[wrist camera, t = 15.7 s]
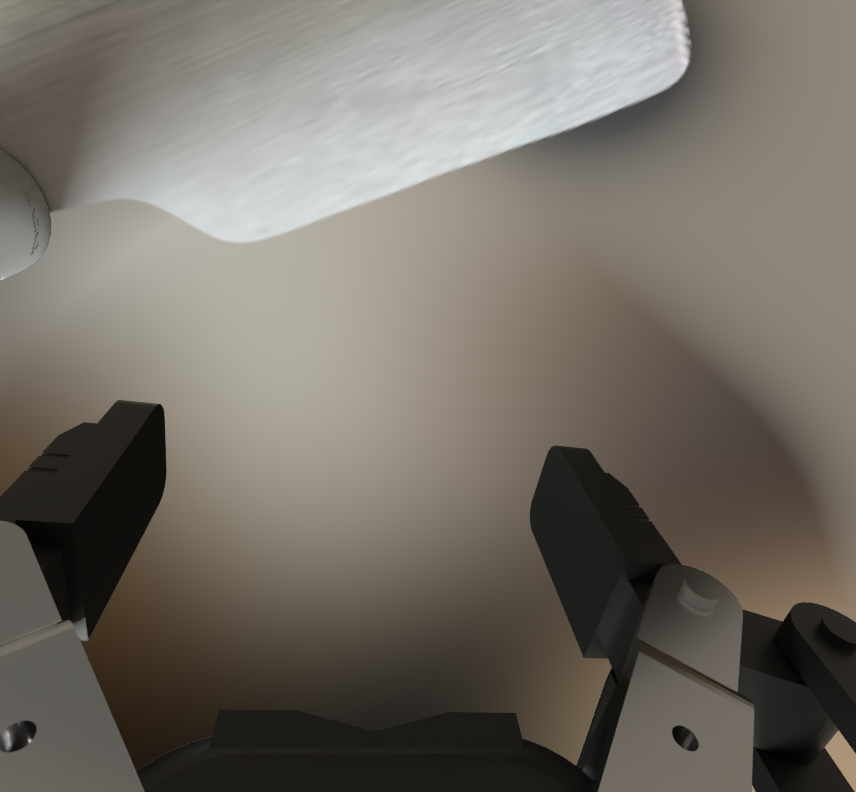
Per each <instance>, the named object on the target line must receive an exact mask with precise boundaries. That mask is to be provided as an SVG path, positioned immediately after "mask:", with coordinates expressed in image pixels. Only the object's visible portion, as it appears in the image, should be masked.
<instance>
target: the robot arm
mask: <svg viewBox="0 0 856 792" xmlns="http://www.w3.org/2000/svg"><path fill="white" fill-rule="evenodd" d="M50 234H51V218H50V214H49V209H48V205H47V203H46V200H45V198H44V196H43V194H42V191H41V190H40V188H39V187H38V185H37V184H36V182H35V181H34V179H33V178H32V176H31V175H30V174H29V173H28V172H27V171H26V170H25V169H24V168H23V167H22V165H21V164H20V163H18V162H17V161H16V160H15V159H13V158H12V157H11V156H10V155H8V154H7V153H6V152H4V151H2V150H1V149H0V280H2V279H4V278H7V277H9V276H11V275H13V274H15V273H17V272H20V271H22V270H24V269H26V268H27V267H29V266H31V265H33V264H34V263H35V262H36V261H37V260H38V259H39V258H40V257H41V256H42V255H43V253H44V251H45V249H46V248H47V246H48V242H49V238H50ZM165 481H166V444H165V417H164V409H163V407H162V405H160V404H153V403H144V402H134V401H124V400H118V401H116V403H114V405H113V406H112V407H111V408H110V409H109V410H108V412H107V413H106V414H105V415H104V416H103V417H102V419H101V420H100V421H99V422H98V423H97V424H96V423H85V422H84V423H82V424H80V425H78V426H76V427H74V428H72V429H70V430H68V431H66V432H64V433H62V434H60V435H59V436H57V437H56V438H55V440H54V441H53V442H52V443H51V444H50V445H49V446H48V447H47V448H46V449H45V450H44V451H43V452H42V456H39V457H38V458H37V459H36V460H35V461H34V462H33V463H32V464H31V465H30V466H29V469H28V471H24V472H23V473H22V475H21V476H20V477H19V478H18V479H17V480H16V481H15V482H14V483H13V484H12V485H11V486H10V487H9V488H8V489H7V490H6V491H5V492H4V494H3V495H2V496H1V497H0V792H751V791H752V785H753V787H754V789H755V791H756V792H854V790H853V789H852V787H851V786H850V785H849V783H848V782H847V780H846V779H845V777H844V776H843V774H842V773H841V771H840V770H839V768H838V767H837V765H836V764H835V762H834V761H833V760H832V758H831V757H830V755H829V754H828V752H827V751H826V749H825V748H824V747H825V746H826V745H827V744H828V742H829V741H830V740H831V739H832V737H833V736H834V735H835V734H836V732H837V731H838V730H839V731H840V732H841V734H842V735H843V736H844V738H845V739H846V741H847V742H848V743H849V745H850V746H851V747H852V749H853V750H854V752H855V753H856V623H855V622H854V621H852V620H851V619H849V618H848V617H846V616H844V615H842V614H841V613H839V612H837V611H835V610H833V609H830V608H828V607H825V606H822V605H819V604H814V603H798V604H796V605H794V606H793V607H792V609H791V610H790V612H789V613H788V615H787V616H786V618H785V619H784V621H783V622H782V621H778V620H775V619H772V618H769V617H765V616H762V615H759V614H756V613H752V612H749V611H746V610H743V609H742V607H741V605H740V603H739V601H738V599H737V598H736V597H735V596H734V594H733V593H732V592H731V591H730V590H729V589H728V588H727V587H726V586H725V585H724V584H723V583H721V582H720V581H719V580H717V579H716V578H714V577H713V576H711V575H709V574H707V573H705V572H704V571H701V570H699V569H696V568H693V567H691V566H687V565H682V564H681V563H680V562H679V560H678V559H677V557H676V556H675V554H674V553H673V551H672V550H671V549H670V547H669V546H668V544H667V543H666V542H665V540H664V539H663V537H662V536H661V535H660V533H659V532H658V530H657V529H656V528H655V526H654V525H653V523H652V522H650V521H649V518H648V516H647V515H646V514H645V512H644V511H643V509H642V508H639V504H638V502H637V501H636V499H635V498H634V497H633V495H632V494H631V492H630V491H629V490H628V488H627V487H626V486H624V485H623V484H622V483H621V482H619V481H618V480H617V479H616V478H614V477H613V476H612V475H611V474H609V473H604V471H603V470H602V468H601V467H600V465H599V464H598V462H597V461H596V459H595V458H594V456H593V455H592V453H591V452H590V451H589V450H588V449H584V448H574V447H565V446H553V447H551V448H550V450H549V452H548V454H547V456H546V459H545V463H544V466H543V469H542V472H541V475H540V478H539V481H538V484H537V488H536V490H535V494H534V496H533V500H532V503H531V509H530V524H531V529H532V532H533V534H534V537H535V540H536V542H537V544H538V547H539V549H540V552H541V554H542V557H543V559H544V562H545V564H546V567H547V569H548V571H549V574H550V576H551V579H552V581H553V583H554V586H555V588H556V591H557V594H558V596H559V598H560V601H561V603H562V606H563V608H564V611H565V613H566V616H567V618H568V621H569V623H570V625H571V628H572V630H573V633H574V635H575V638H576V640H577V642H578V645H579V647H580V650H581V652H582V654H583V657H584V658H608V659H609V662H610V664H611V666H612V668H611V670H610V672H609V674H608V676H607V678H606V681H605V684H604V686H603V689H602V693H601V695H600V698H599V701H598V704H597V707H596V710H595V712H594V716H593V719H592V721H591V725H590V727H589V730H588V733H587V736H586V739H585V742H584V744H583V747H582V750H581V753H580V756H579V759H578V761H577V764H576V766H575V765H574V764H573V763H571V762H570V761H568V760H567V759H565V758H564V757H562V756H560V755H559V754H557V753H555V752H553V751H551V750H549V749H548V748H546V747H543V746H541V745H539V744H536V743H534V742H531V741H529V740H525V739H522V736H521V732H520V728H519V724H518V721H517V716H516V713H467V712H466V713H464V712H447V713H443V714H440V715H436V716H432V717H428V718H424V719H421V720H417V721H413V722H409V723H406V724H402V725H398V726H394V727H390V728H386V729H383V730H378V731H377V730H375V731H374V730H366V729H363V728H359V727H356V726H352V725H348V724H344V723H341V722H337V721H334V720H330V719H326V718H323V717H319V716H315V715H311V714H308V713H304V712H300V711H289V710H286V711H285V710H219V711H218V715H217V719H216V723H215V728H214V732H213V736H212V737H208V738H204V739H200V740H197V741H194V742H191V743H189V744H186V745H183V746H180V747H178V748H176V749H174V750H172V751H170V752H168V753H166V754H164V755H162V756H160V757H157V758H156V759H154V760H153V761H151V762H149V763H148V764H146V765H145V766H143V767H141V768H140V769H138V770H135V768H134V766H133V763H132V761H131V759H130V756H129V754H128V752H127V749H126V747H125V745H124V743H123V740H122V738H121V735H120V733H119V731H118V728H117V726H116V724H115V721H114V719H113V717H112V714H111V712H110V710H109V707H108V705H107V703H106V700H105V698H104V696H103V693H102V691H101V689H100V686H99V684H98V681H97V679H96V677H95V675H94V672H93V670H92V667H91V665H90V663H89V660H88V658H87V656H86V653H85V651H84V649H83V646H82V644H81V642H80V640H89V638H90V636H91V634H92V632H93V630H94V628H95V626H96V624H97V623H98V621H99V619H100V617H101V615H102V613H103V611H104V609H105V607H106V605H107V603H108V601H109V599H110V597H111V596H112V594H113V592H114V590H115V588H116V586H117V584H118V582H119V580H120V578H121V576H122V574H123V573H124V571H125V569H126V567H127V565H128V563H129V561H130V559H131V557H132V555H133V553H134V551H135V550H136V547H137V546H138V544H139V542H140V540H141V538H142V536H143V534H144V532H145V530H146V528H147V526H148V524H149V523H150V521H151V519H152V517H153V515H154V513H155V511H156V509H157V507H158V505H159V503H160V501H161V498H162V495H163V492H164V488H165Z"/></svg>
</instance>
